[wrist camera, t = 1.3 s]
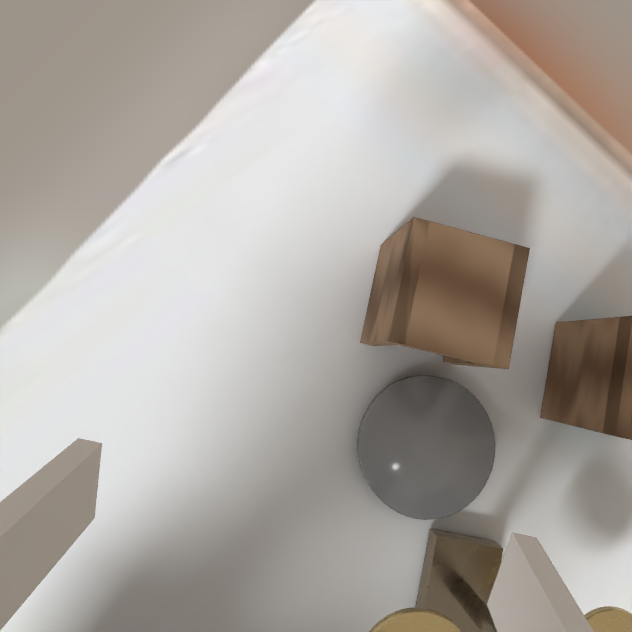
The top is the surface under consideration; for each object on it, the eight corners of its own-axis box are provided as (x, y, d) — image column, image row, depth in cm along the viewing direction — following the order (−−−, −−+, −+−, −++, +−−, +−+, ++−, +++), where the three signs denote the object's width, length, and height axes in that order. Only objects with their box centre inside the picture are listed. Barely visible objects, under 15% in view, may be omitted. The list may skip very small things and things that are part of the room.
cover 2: (627, 436, 41) (722, 459, 32) (540, 417, 40) (615, 436, 31) (640, 343, 42) (737, 342, 33) (556, 322, 41) (633, 315, 32)
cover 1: (455, 364, 39) (508, 368, 31) (360, 342, 38) (388, 340, 30) (473, 269, 40) (529, 248, 32) (380, 245, 39) (413, 217, 31)
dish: (474, 525, 38) (481, 530, 37) (344, 500, 37) (347, 505, 36) (498, 391, 39) (505, 392, 38) (373, 362, 38) (376, 363, 37)
